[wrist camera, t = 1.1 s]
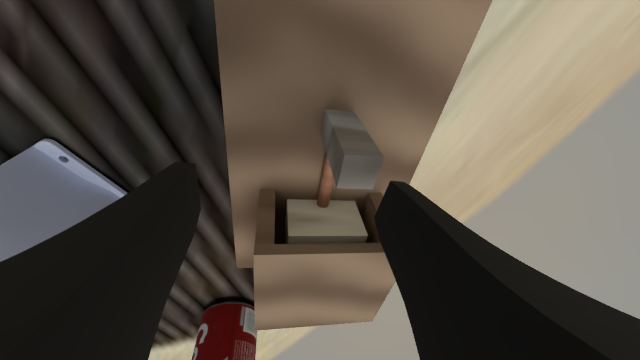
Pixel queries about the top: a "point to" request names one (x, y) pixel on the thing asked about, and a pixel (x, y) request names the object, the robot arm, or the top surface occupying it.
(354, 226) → the grey handled cream block
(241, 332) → the soda can
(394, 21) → the walnut shelf
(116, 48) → the top surface
